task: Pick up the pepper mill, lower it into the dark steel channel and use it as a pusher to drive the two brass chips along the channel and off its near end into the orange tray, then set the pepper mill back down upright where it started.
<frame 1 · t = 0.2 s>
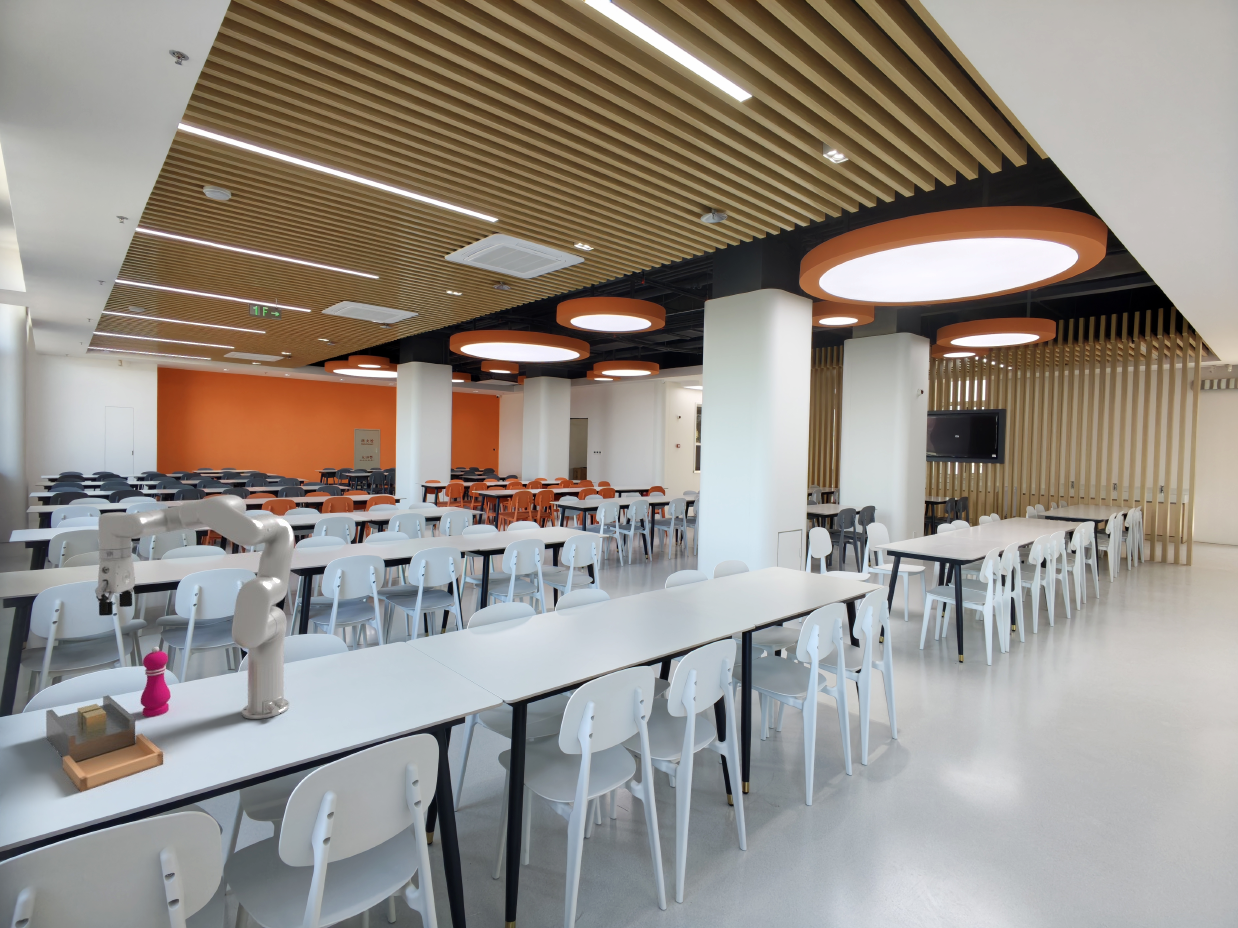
hand: (116, 610, 183), 31 cm above the table, tool pointing down, fingers open, 9 cm apart
chip b: (89, 722, 166), point 5 cm above the table, touching channel bed
tray: (113, 766, 153), on the table
pepper mill: (155, 712, 184), on the table
channel bed: (90, 741, 165), on the table
chip a: (94, 727, 163), point 5 cm above the table, touching channel bed
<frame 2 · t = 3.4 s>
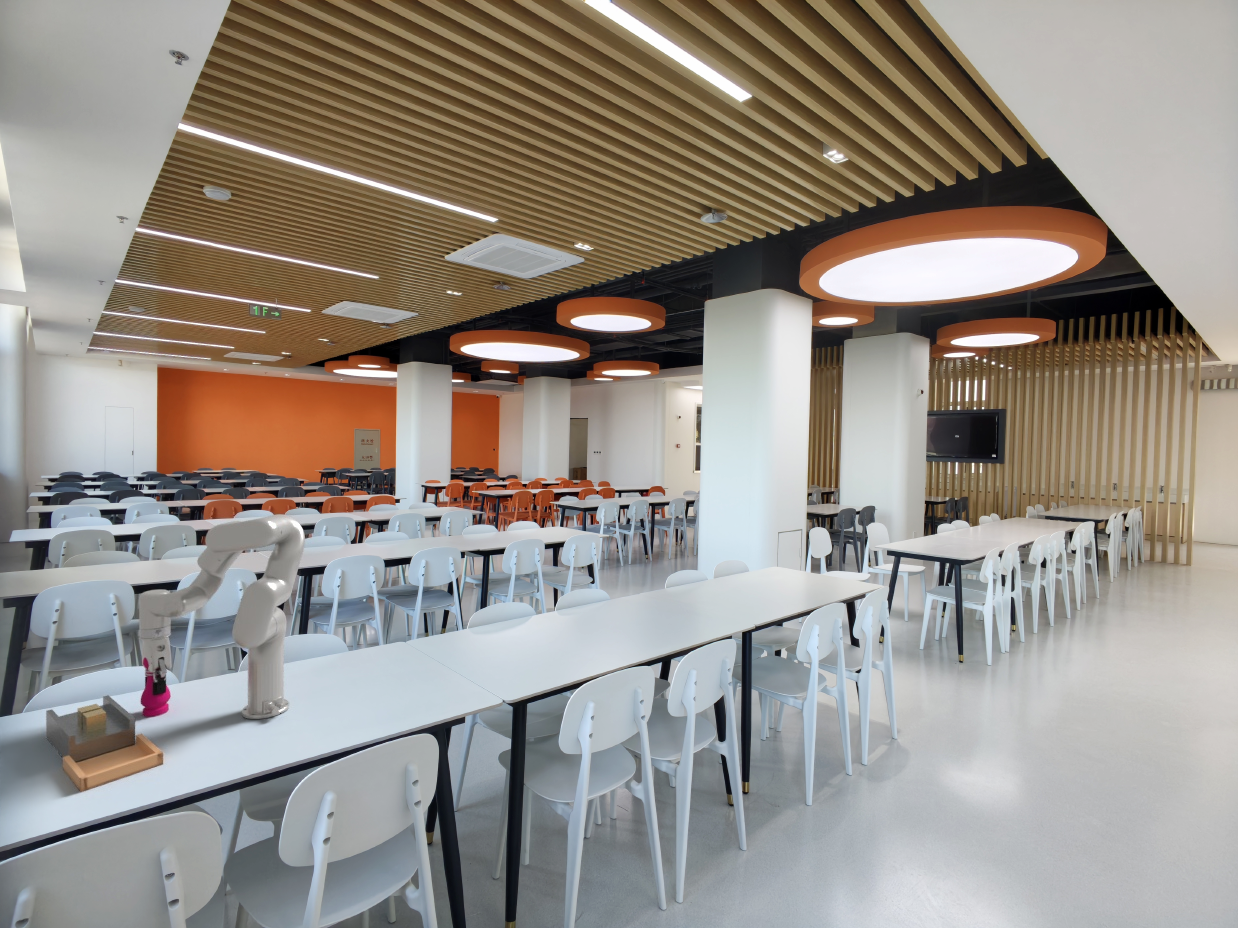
hand: (155, 690, 184), 7 cm above the table, tool pointing down, fingers closed on pepper mill, 5 cm apart
pepper mill: (155, 713, 184), on the table, touching gripper
everything else where it was.
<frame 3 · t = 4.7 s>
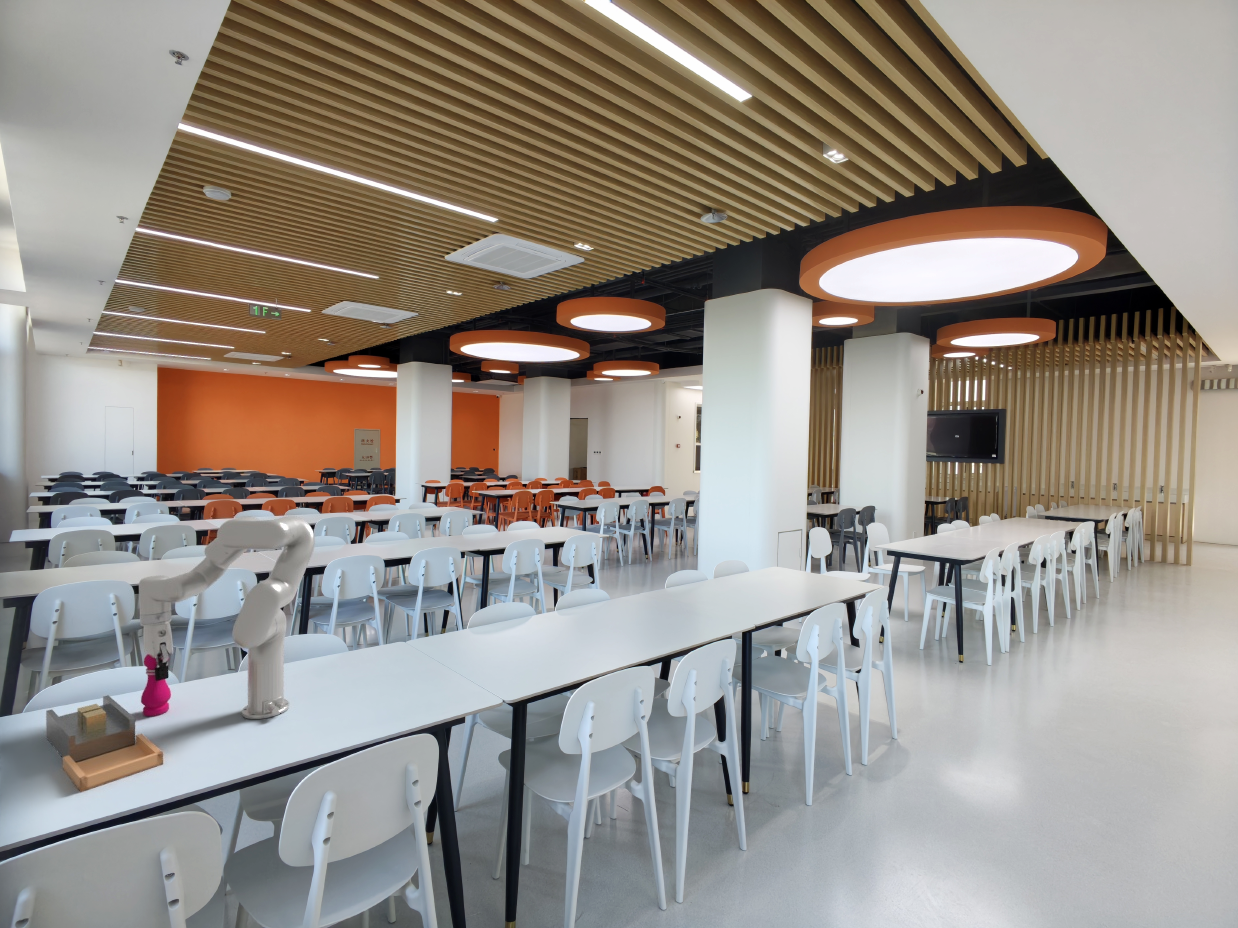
hand: (158, 676, 183), 11 cm above the table, tool pointing down, fingers closed on pepper mill, 5 cm apart
pepper mill: (156, 712, 184), on the table, touching gripper
everything else where it was.
when the fingers open (11 cm above the table, at t = 21.6 s): pepper mill stays where it is, on the table.
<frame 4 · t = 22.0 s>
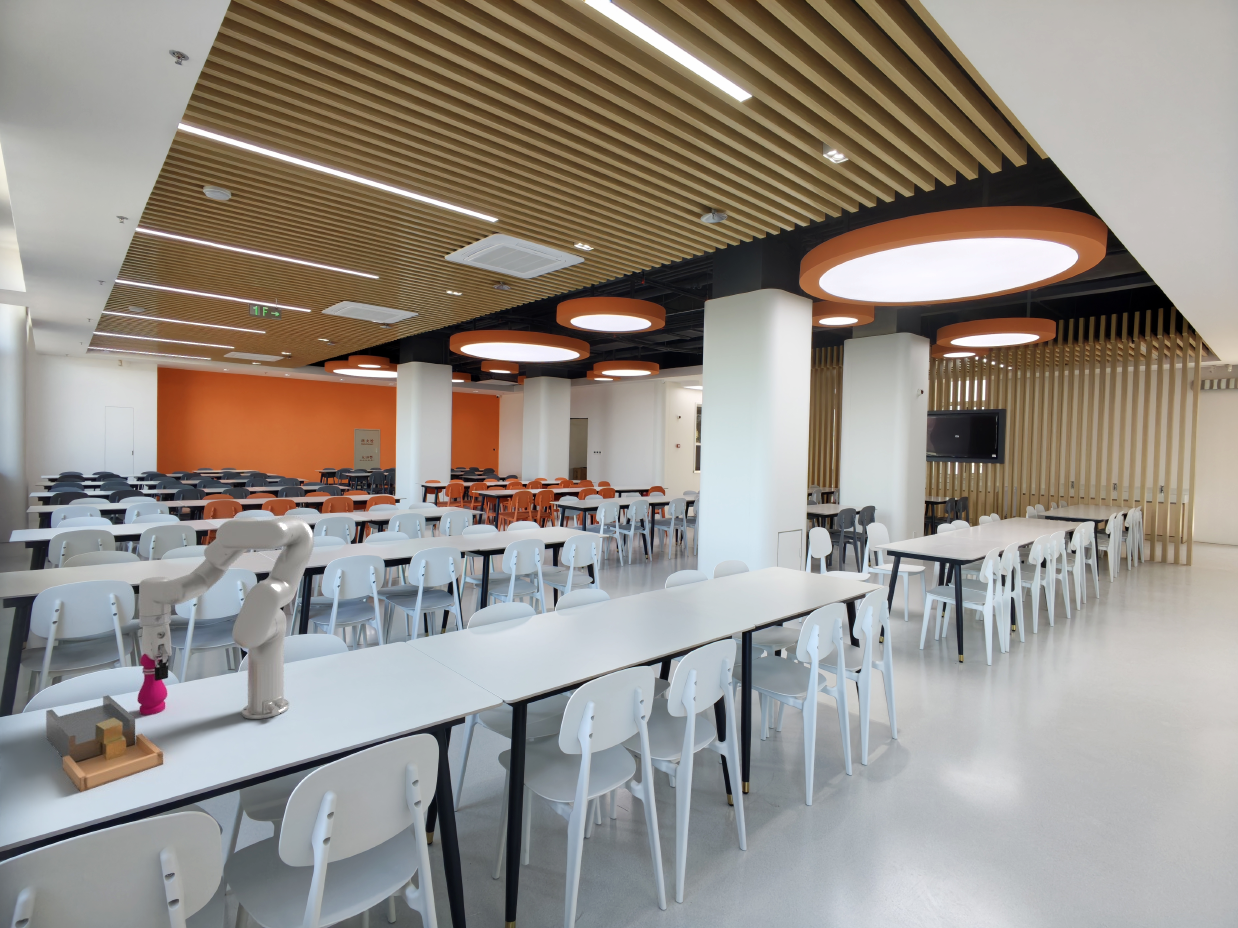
hand: (155, 675, 183), 11 cm above the table, tool pointing down, fingers open, 9 cm apart
chip b: (108, 737, 158), point 5 cm above the table, tilted 8°, touching channel bed, chip a
pepper mill: (152, 710, 185), on the table, touching gripper
chip a: (112, 744, 159), point 2 cm above the table, tilted 90°, touching chip b, tray
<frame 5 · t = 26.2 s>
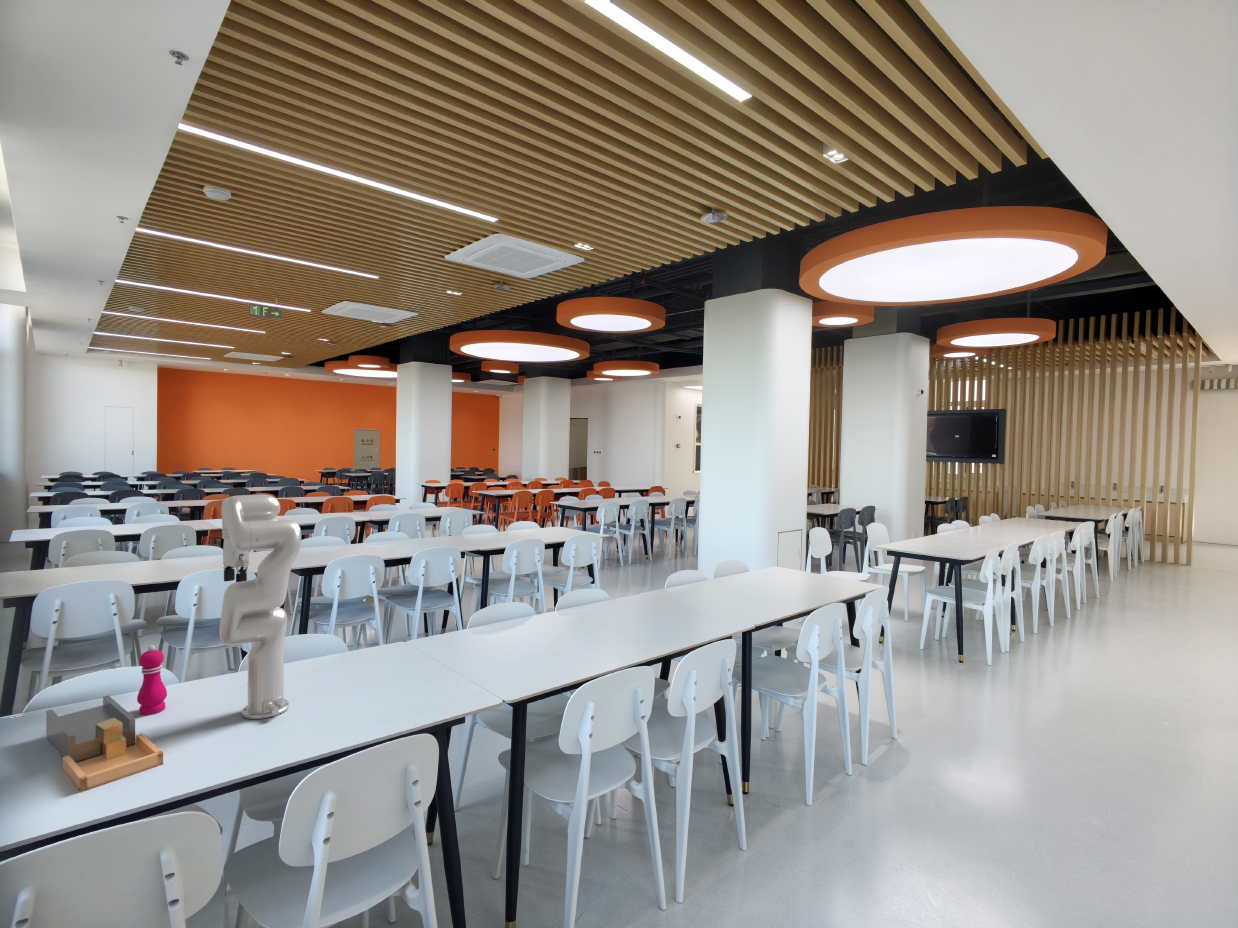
hand: (235, 582, 210), 33 cm above the table, tool pointing down, fingers open, 9 cm apart
pepper mill: (152, 711, 185), on the table
everything else where it was.
at the end: chip a inside the target area (8.3 cm from its centre), point 2.5 cm above the table; chip b inside the target area (7.6 cm from its centre), point 4.8 cm above the table; pepper mill inside the target area (2.1 cm from its centre), on the table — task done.
